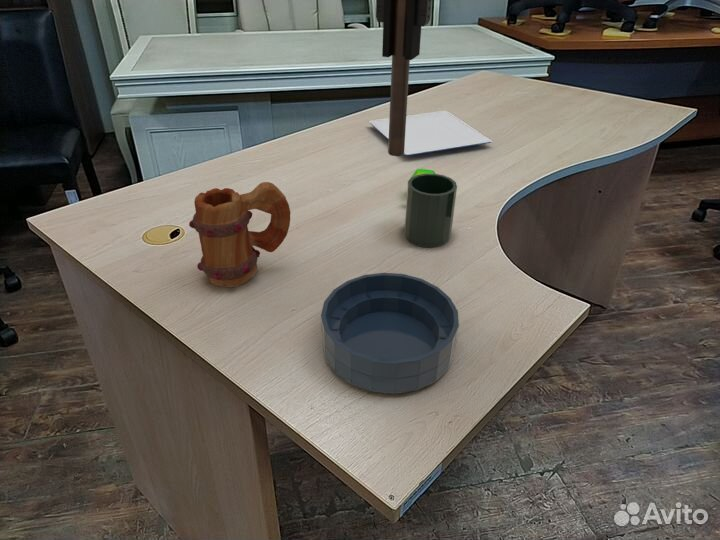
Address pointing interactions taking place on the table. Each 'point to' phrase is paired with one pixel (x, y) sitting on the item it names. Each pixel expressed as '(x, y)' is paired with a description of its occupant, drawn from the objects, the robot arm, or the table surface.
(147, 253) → the table surface
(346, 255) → the table surface
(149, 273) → the table surface
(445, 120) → the plate
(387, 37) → the robot arm
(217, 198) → the mug
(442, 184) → the holder
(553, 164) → the table surface
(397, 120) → the stick
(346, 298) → the bowl
